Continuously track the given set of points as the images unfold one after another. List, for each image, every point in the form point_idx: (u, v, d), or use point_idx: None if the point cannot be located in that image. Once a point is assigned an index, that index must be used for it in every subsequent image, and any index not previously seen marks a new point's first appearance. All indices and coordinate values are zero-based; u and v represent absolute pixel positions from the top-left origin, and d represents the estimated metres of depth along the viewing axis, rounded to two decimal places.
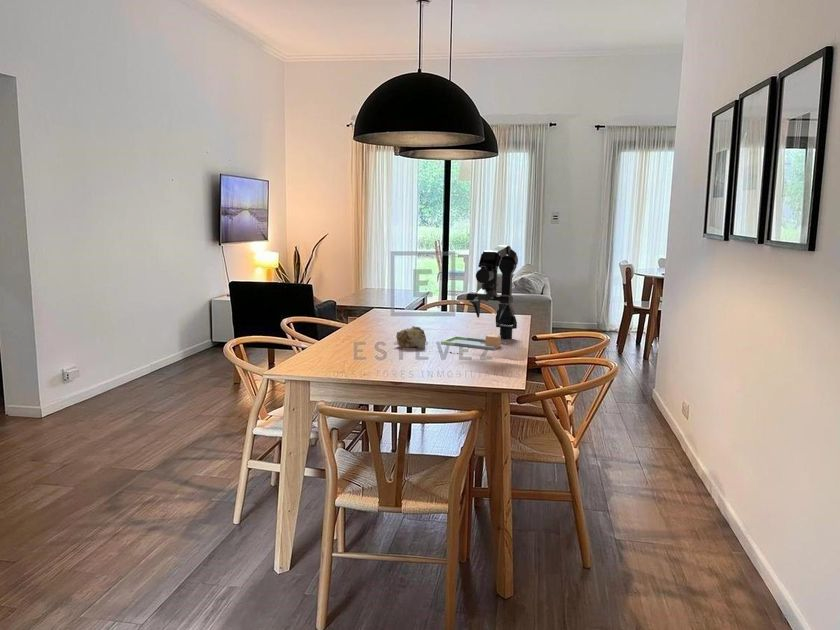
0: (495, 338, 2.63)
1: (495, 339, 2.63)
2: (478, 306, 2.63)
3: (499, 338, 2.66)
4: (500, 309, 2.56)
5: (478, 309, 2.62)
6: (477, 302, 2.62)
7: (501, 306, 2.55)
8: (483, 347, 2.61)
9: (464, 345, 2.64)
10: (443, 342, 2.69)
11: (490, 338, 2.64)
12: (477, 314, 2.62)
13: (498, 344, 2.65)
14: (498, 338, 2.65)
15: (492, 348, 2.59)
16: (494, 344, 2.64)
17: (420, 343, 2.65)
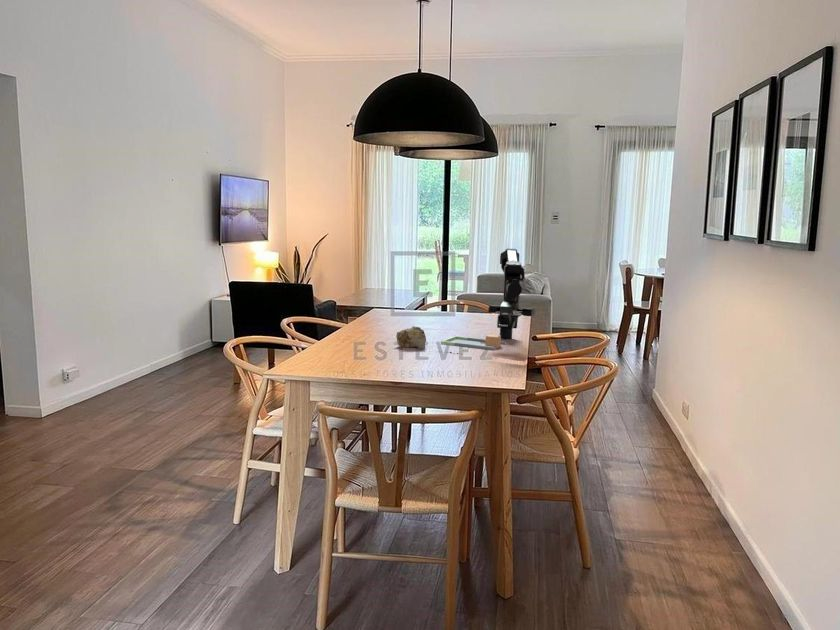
0: (495, 338, 2.63)
1: (495, 339, 2.63)
2: (510, 319, 2.62)
3: (499, 338, 2.66)
4: (512, 320, 2.60)
5: (510, 322, 2.62)
6: (509, 315, 2.61)
7: (513, 318, 2.59)
8: (483, 347, 2.61)
9: (464, 345, 2.64)
10: (443, 342, 2.69)
11: (490, 338, 2.64)
12: (509, 327, 2.62)
13: (498, 344, 2.65)
14: (498, 338, 2.65)
15: (492, 348, 2.59)
16: (494, 344, 2.64)
17: (420, 343, 2.65)
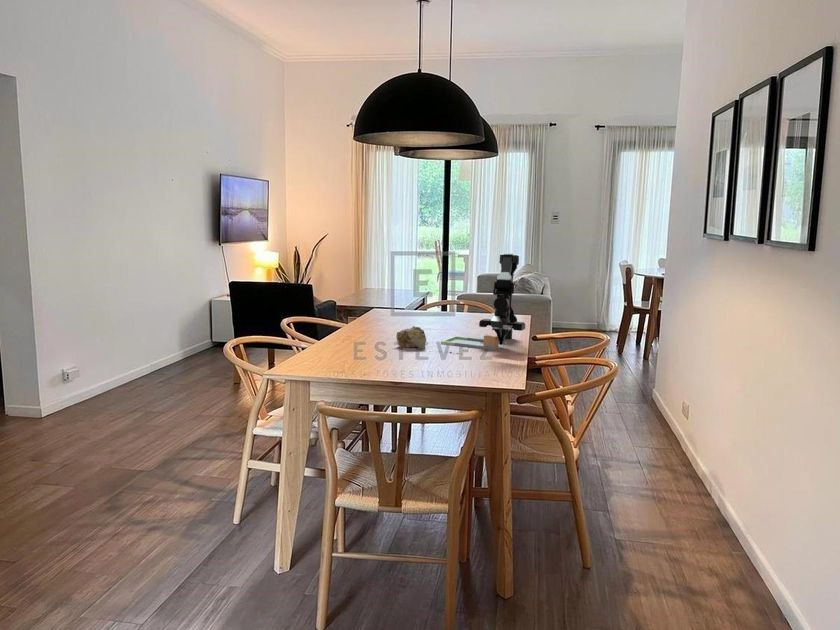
0: (493, 338, 2.63)
1: (493, 338, 2.63)
2: (501, 333, 2.65)
3: (497, 338, 2.66)
4: (503, 335, 2.63)
5: None
6: (500, 329, 2.64)
7: (504, 332, 2.61)
8: (483, 347, 2.61)
9: (464, 345, 2.64)
10: (443, 342, 2.69)
11: (488, 338, 2.64)
12: (500, 341, 2.64)
13: (496, 344, 2.65)
14: (496, 338, 2.65)
15: (492, 348, 2.59)
16: (492, 343, 2.64)
17: (420, 343, 2.65)
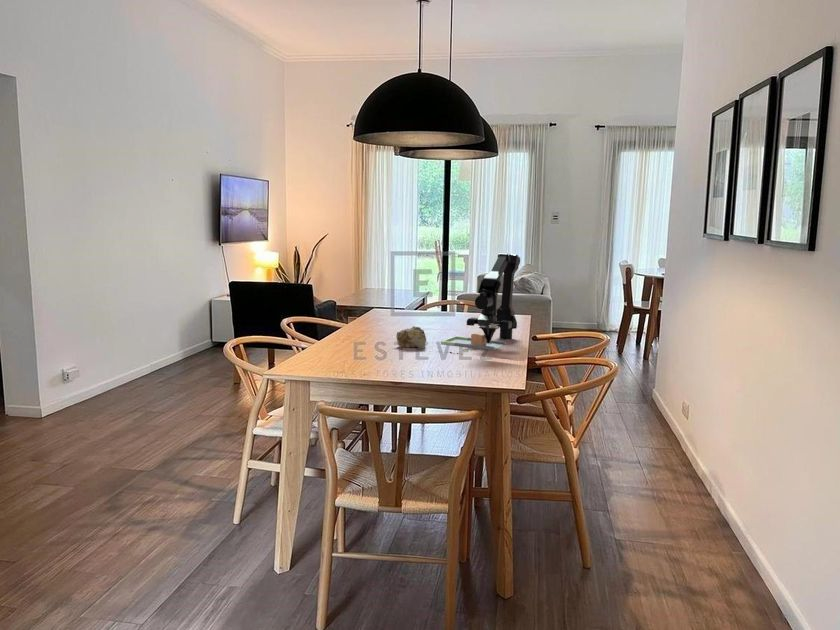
0: (480, 336, 2.66)
1: (481, 337, 2.66)
2: (488, 332, 2.67)
3: (484, 336, 2.68)
4: (490, 333, 2.65)
5: None
6: (487, 328, 2.66)
7: (491, 330, 2.64)
8: (483, 347, 2.61)
9: (464, 345, 2.64)
10: (443, 342, 2.69)
11: (475, 336, 2.67)
12: (487, 340, 2.66)
13: (483, 342, 2.67)
14: (483, 336, 2.67)
15: (492, 348, 2.59)
16: (479, 342, 2.66)
17: (420, 343, 2.65)
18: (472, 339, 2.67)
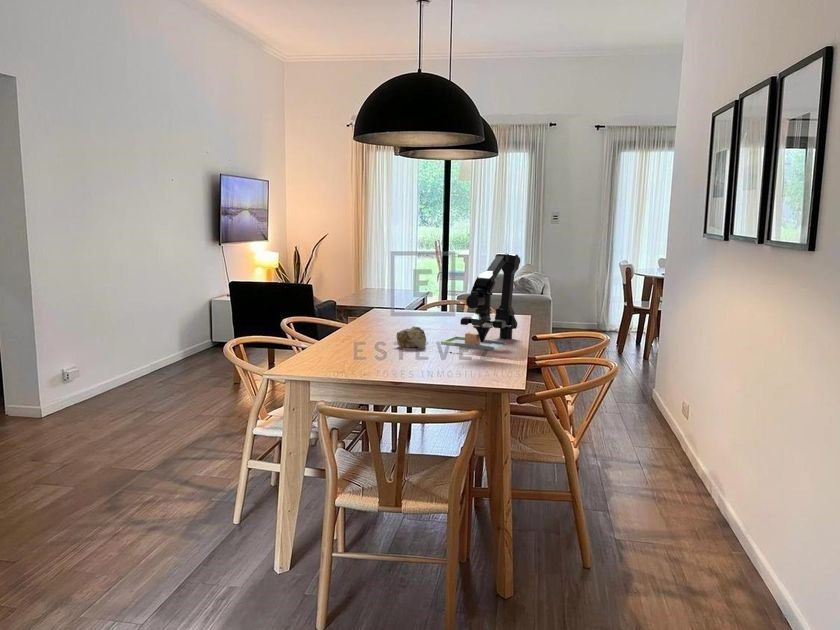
0: (474, 336, 2.67)
1: (474, 336, 2.67)
2: (482, 331, 2.68)
3: (478, 336, 2.70)
4: (483, 332, 2.66)
5: None
6: (481, 327, 2.68)
7: (484, 330, 2.65)
8: (483, 347, 2.61)
9: (464, 345, 2.64)
10: (443, 342, 2.69)
11: (469, 336, 2.68)
12: (481, 339, 2.68)
13: (477, 342, 2.69)
14: (477, 336, 2.68)
15: (492, 348, 2.59)
16: (473, 341, 2.67)
17: (420, 343, 2.65)
18: (466, 338, 2.69)
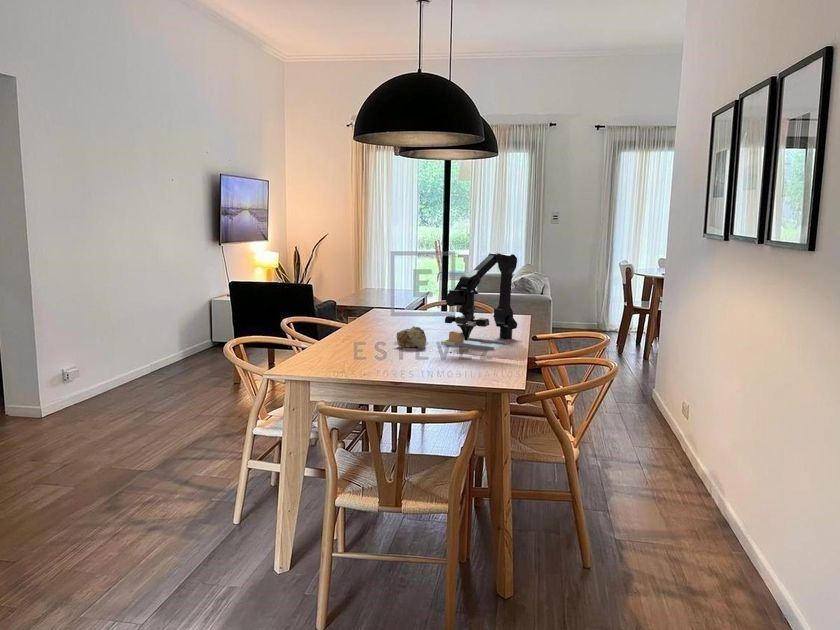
0: (458, 334, 2.70)
1: (458, 335, 2.70)
2: None
3: (462, 334, 2.73)
4: (467, 331, 2.70)
5: None
6: (465, 326, 2.71)
7: (468, 328, 2.68)
8: (483, 347, 2.61)
9: (464, 345, 2.64)
10: (443, 342, 2.69)
11: (453, 334, 2.71)
12: (465, 337, 2.71)
13: (461, 340, 2.72)
14: (461, 334, 2.72)
15: (492, 348, 2.59)
16: (457, 339, 2.71)
17: (420, 343, 2.65)
18: (450, 337, 2.72)
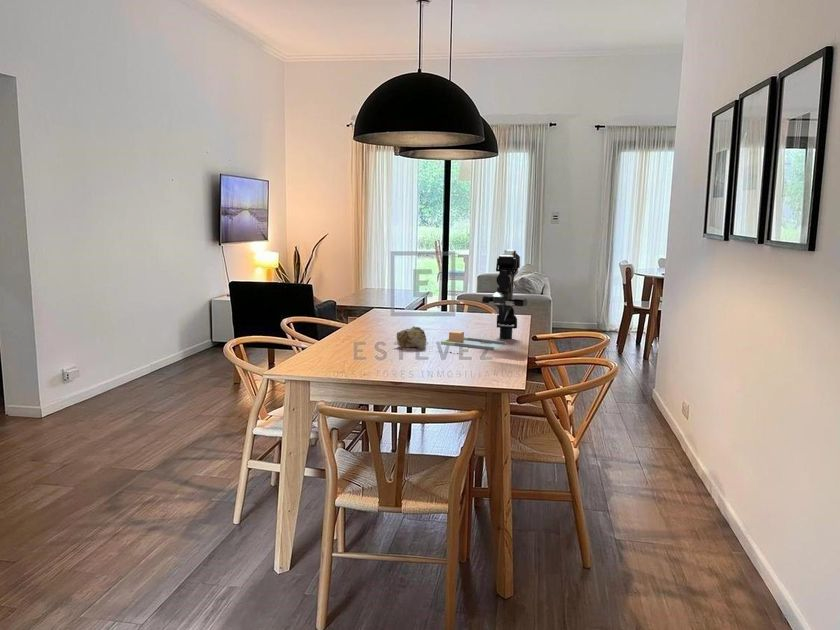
0: (458, 334, 2.70)
1: (458, 335, 2.70)
2: (503, 309, 2.70)
3: (462, 334, 2.73)
4: (505, 311, 2.68)
5: (503, 312, 2.70)
6: (502, 306, 2.69)
7: (506, 308, 2.67)
8: (483, 347, 2.61)
9: (464, 345, 2.64)
10: (443, 342, 2.69)
11: (453, 334, 2.71)
12: (502, 317, 2.70)
13: (461, 340, 2.72)
14: (461, 334, 2.72)
15: (492, 348, 2.59)
16: (457, 339, 2.71)
17: (420, 343, 2.65)
18: (450, 337, 2.72)
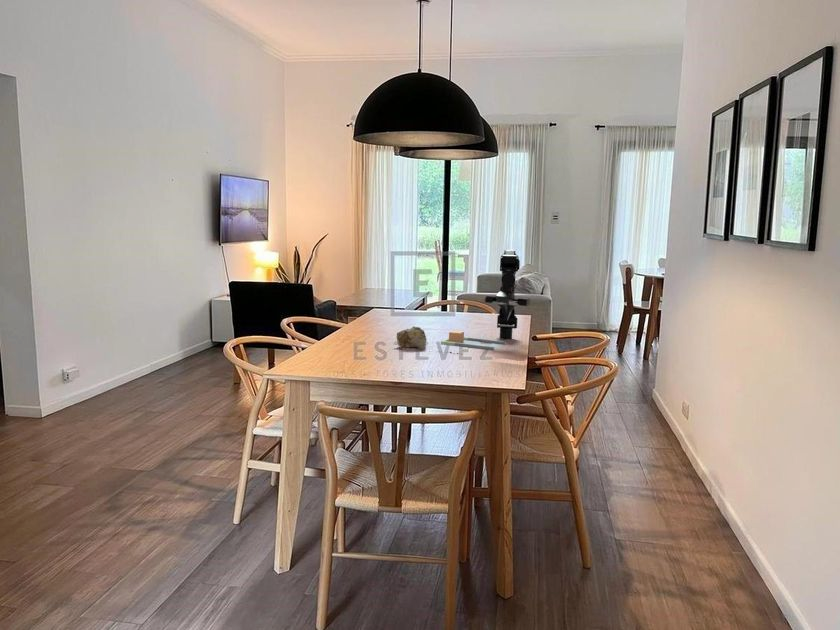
0: (458, 334, 2.70)
1: (458, 335, 2.70)
2: (506, 309, 2.70)
3: (462, 334, 2.73)
4: (508, 310, 2.68)
5: (506, 312, 2.70)
6: (505, 305, 2.69)
7: (509, 307, 2.67)
8: (483, 347, 2.61)
9: (464, 345, 2.64)
10: (443, 342, 2.69)
11: (453, 334, 2.71)
12: (505, 317, 2.70)
13: (461, 340, 2.72)
14: (461, 334, 2.72)
15: (492, 348, 2.59)
16: (457, 339, 2.71)
17: (420, 343, 2.65)
18: (450, 337, 2.72)
